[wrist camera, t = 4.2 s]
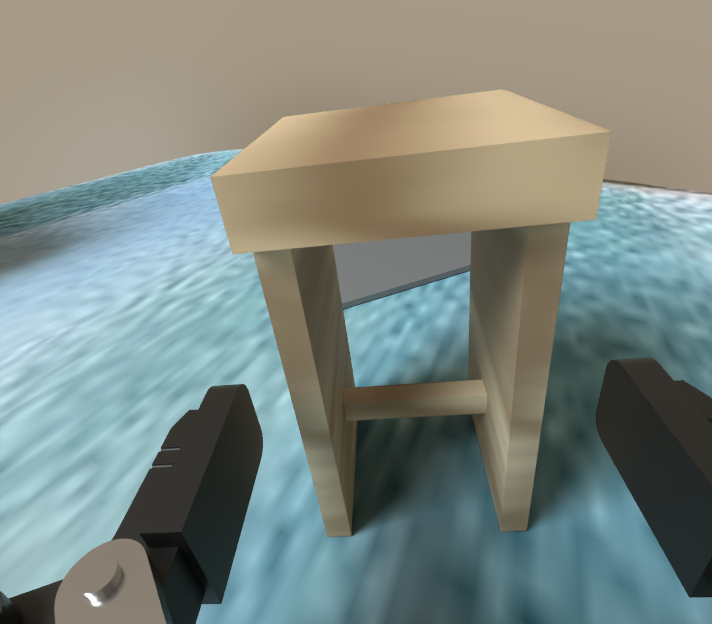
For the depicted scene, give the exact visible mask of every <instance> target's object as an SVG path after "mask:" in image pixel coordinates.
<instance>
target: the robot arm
mask: <svg viewBox="0 0 712 624" xmlns="http://www.w3.org/2000/svg"><path fill="white" fill-rule="evenodd" d="M596 424H597V429H598V433H599V436H600V438H601V441H602V443H603V444H604V446H605V448H606V450H607V452H608V453H609V455H610V457H611V459H612V460H613V462H614V464H615V466H616V468H617V469H618V471H619V473H620V475H621V476H622V478H623V480H624V482H625V484H626V485H627V487H628V489H629V491H630V493H631V494H632V496H633V498H634V500H635V501H636V503H637V505H638V507H639V509H640V510H641V512H642V514H643V516H644V517H645V519H646V521H647V523H648V525H649V526H650V528H651V530H652V532H653V534H654V535H655V537H656V539H657V541H658V542H659V544H660V546H661V548H662V550H663V551H664V553H665V555H666V557H667V558H668V560H669V562H670V564H671V566H672V567H673V569H674V571H675V573H676V574H677V576H678V578H679V580H680V582H681V583H682V585H683V587H684V589H685V591H686V592H687V594H688V596H689V597H712V399H711V398H710V397H709V396H707V395H706V394H704V393H703V392H701V391H699V390H698V389H696V388H695V387H693V386H691V385H690V384H688V383H686V382H685V381H683V380H681V381H673V379H672V378H671V377H670V376H669V375H668V374H667V372H666V371H665V370H664V369H663V368H662V367H661V366H660V364H659V363H658V362H657V361H656V360H654V359H652V358H636V359H621V360H611V361H610V362H609V363H608V365H607V367H606V371H605V376H604V380H603V384H602V389H601V393H600V398H599V402H598V406H597V411H596ZM262 451H263V437H262V431H261V427H260V424H259V421H258V418H257V415H256V412H255V409H254V406H253V403H252V400H251V397H250V394H249V391H248V389H247V387H246V386H245V385H244V384H237V385H222V386H212V387H210V388H209V389H208V391H207V393H206V395H205V397H204V399H203V401H202V403H201V405H200V407H199V410H189V411H188V412H187V413H186V414H185V415H184V416H183V417H182V418H181V419H180V420H179V421H178V422H177V423H176V424H175V425H174V426H173V427H172V428H171V429H170V431H169V433H168V435H167V437H166V439H165V441H164V443H163V445H162V447H161V452H158V454H157V456H156V458H155V460H154V462H153V464H152V469H149V471H148V473H147V475H146V477H145V479H144V481H143V483H142V485H141V486H140V488H139V490H138V492H137V494H136V496H135V498H134V500H133V502H132V504H131V506H130V507H129V509H128V511H127V513H126V515H125V517H124V519H123V521H122V523H121V525H120V526H119V528H118V530H117V532H116V534H115V536H114V537H113V539H112V540H111V541H109V542H106V543H104V544H102V545H100V546H98V547H96V548H94V549H93V550H91V551H90V552H88V553H87V554H86V555H85V556H83V557H82V558H81V559H80V560H79V561H78V562H77V563H76V564H75V565H74V566H73V567H72V568H71V570H70V571H69V572H68V573H67V575H66V576H65V578H64V579H63V580H60V581H57V582H55V583H52V584H49V585H46V586H43V587H40V588H37V589H35V590H32V591H29V592H26V593H23V594H20V595H18V596H15V597H12V598H9V599H8V598H7V597H6V596H5V595H4V594H3V593H2V592H1V591H0V624H196V620H197V617H198V614H199V611H200V607H201V604H221V603H222V600H223V596H224V592H225V589H226V585H227V581H228V578H229V574H230V570H231V567H232V563H233V560H234V556H235V552H236V549H237V545H238V541H239V538H240V534H241V530H242V527H243V523H244V519H245V516H246V512H247V508H248V505H249V501H250V497H251V494H252V490H253V486H254V483H255V479H256V475H257V472H258V468H259V464H260V461H261V457H262Z"/></svg>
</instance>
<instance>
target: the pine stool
mask: <svg viewBox="0 0 712 624" xmlns="http://www.w3.org/2000/svg"><path fill="white" fill-rule="evenodd" d="M610 136H611V131H609V130H607V129H604V128H601V127H599V126H596V125H594V124H591V123H589V122H586V121H583V120H581V119H578V118H576V117H573V116H571V115H568V114H566V113H563V112H560V111H558V110H555V109H553V108H550V107H548V106H545V105H542V104H540V103H537V102H535V101H532V100H530V99H527V98H524V97H522V96H519V95H517V94H514V93H512V92H509V91H506V90H504V89H502V90H495V91H487V92H478V93H471V94H463V95H455V96H447V97H439V98H431V99H423V100H415V101H408V102H399V103H391V104H383V105H375V106H368V107H359V108H351V109H343V110H335V111H327V112H319V113H311V114H303V115H295V116H288V117H283V118H282V119H281V120H279V121H278V122H277V123H276V124H275V125H273V126H272V127H271V128H270V129H269V130H267V131H266V132H265V133H264V134H262V135H261V136H260V137H259V138H257V139H256V140H255V141H254V142H253V143H251V144H250V145H249V146H248V147H246V148H245V149H244V150H243V151H242V152H240V153H239V154H238V155H237V156H235V157H234V158H233V159H232V160H231V161H229V162H228V163H227V164H226V165H224V166H223V167H222V168H221V169H220V170H218V171H217V172H216V173H215V174H213V175H212V176H211V177H210V178H211V181H212V184H213V188H214V191H215V195H216V198H217V202H218V205H219V209H220V212H221V216H222V219H223V223H224V226H225V229H226V233H227V236H228V240H229V243H230V247H231V250H232V254H240V253H251V252H253V254H254V258H255V262H256V266H257V269H258V273H259V277H260V281H261V285H262V289H263V292H264V296H265V300H266V304H267V308H268V311H269V315H270V319H271V323H272V327H273V331H274V334H275V338H276V342H277V346H278V350H279V353H280V357H281V361H282V365H283V369H284V373H285V376H286V380H287V384H288V388H289V392H290V395H291V399H292V403H293V407H294V411H295V415H296V418H297V422H298V426H299V430H300V434H301V437H302V441H303V445H304V449H305V453H306V457H307V460H308V464H309V468H310V472H311V476H312V479H313V483H314V487H315V491H316V495H317V499H318V502H319V506H320V510H321V514H322V518H323V521H324V525H325V529H326V533H327V537H334V536H351V535H352V516H353V497H354V478H355V459H356V440H357V421H358V420H372V419H390V418H408V417H426V416H444V415H462V414H472V418H473V422H474V426H475V430H476V434H477V438H478V442H479V446H480V450H481V454H482V458H483V462H484V466H485V470H486V474H487V478H488V482H489V486H490V490H491V494H492V498H493V502H494V506H495V510H496V514H497V518H498V522H499V526H500V530H501V532H502V531H527V526H528V519H529V512H530V505H531V498H532V491H533V483H534V476H535V469H536V462H537V455H538V448H539V441H540V434H541V427H542V420H543V413H544V406H545V398H546V391H547V384H548V377H549V370H550V363H551V356H552V349H553V342H554V335H555V328H556V320H557V313H558V306H559V299H560V292H561V285H562V278H563V271H564V264H565V257H566V250H567V242H568V235H569V228H570V222H575V221H586V220H596V218H597V212H598V206H599V200H600V194H601V189H602V183H603V177H604V171H605V165H606V160H607V154H608V148H609V142H610ZM470 231H471V259H470V314H469V369H468V380H466V381H450V382H434V383H418V384H402V385H386V386H371V387H355V383H354V376H353V370H352V364H351V357H350V351H349V345H348V338H347V332H346V326H345V319H344V313H343V307H342V300H341V294H340V288H339V281H338V275H337V269H336V262H335V256H334V250H333V245H334V244H345V243H355V242H366V241H376V240H387V239H397V238H408V237H418V236H429V235H439V234H449V233H460V232H470Z"/></svg>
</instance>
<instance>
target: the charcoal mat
mask: <svg viewBox="0 0 712 624" xmlns="http://www.w3.org/2000/svg"><path fill="white" fill-rule="evenodd" d="M333 250H334V256H335V262H336V269H337V275H338V281H339V288H340V294H341V300H342V307H343V309H345V308H348V307H352V306H355V305H358V304H361V303H365V302H368V301H371V300H374V299H378V298H381V297H384V296H387V295H391V294H394V293H397V292H401V291H404V290H407V289H410V288H414V287H417V286H420V285H423V284H427V283H430V282H433V281H437V280H440V279H443V278H446V277H450V276H453V275H456V274H459V273H463V272H466V271H469V270H470V259H471V231H470V232H460V233H449V234H439V235H429V236H418V237H408V238H397V239H387V240H376V241H366V242H355V243H345V244H334V245H333Z"/></svg>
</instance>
